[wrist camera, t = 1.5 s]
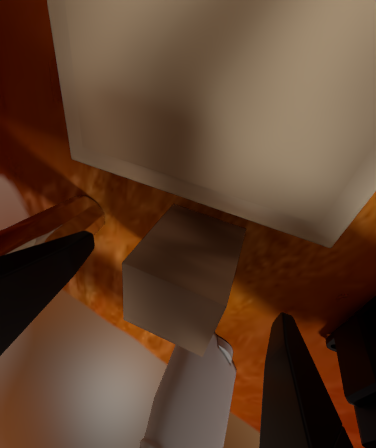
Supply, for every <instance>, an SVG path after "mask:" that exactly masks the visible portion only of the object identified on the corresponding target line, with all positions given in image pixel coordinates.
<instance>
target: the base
mask: <svg viewBox="0 0 376 448" xmlns="http://www.w3.org/2000/svg"><path fill="white" fill-rule="evenodd" d="M47 4H48V10H49V17H50V23H51V29H52V36H53V42H54V49H55V55H56V61H57V68H58V74H59V81H60V87H61V93H62V100H63V106H64V113H65V119H66V125H67V132H68V138H69V145H70V151H71V158H72V159H73V160H76V161H79V162H82V163H85V164H87V165H90V166H93V167H96V168H99V169H102V170H105V171H108V172H111V173H114V174H116V175H119V176H122V177H125V178H128V179H131V180H134V181H137V182H140V183H143V184H145V185H148V186H151V187H154V188H157V189H160V190H163V191H166V192H169V193H172V194H175V195H177V196H180V197H183V198H186V199H189V200H192V201H195V202H198V203H201V204H204V205H206V206H209V207H212V208H215V209H218V210H221V211H224V212H227V213H230V214H233V215H235V216H238V217H241V218H244V219H247V220H250V221H253V222H256V223H259V224H262V225H264V226H267V227H270V228H273V229H276V230H279V231H282V232H285V233H288V234H291V235H293V236H296V237H299V238H302V239H305V240H308V241H311V242H314V243H317V244H320V245H322V246H325V247H328V248H331V247H332V246H333V245H334V243H335V242H336V241H337V240H338V238H339V237H340V236H341V235H342V233H343V232H344V231H345V229H346V228H347V227H348V226H349V224H350V223H351V222H352V220H353V219H354V218H355V217H356V215H357V214H358V213H359V211H360V210H361V209H362V208H363V206H364V205H365V204H366V203H367V201H368V200H369V199H370V197H371V196H372V195H373V194H374V192H375V191H376V0H47Z"/></svg>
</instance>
